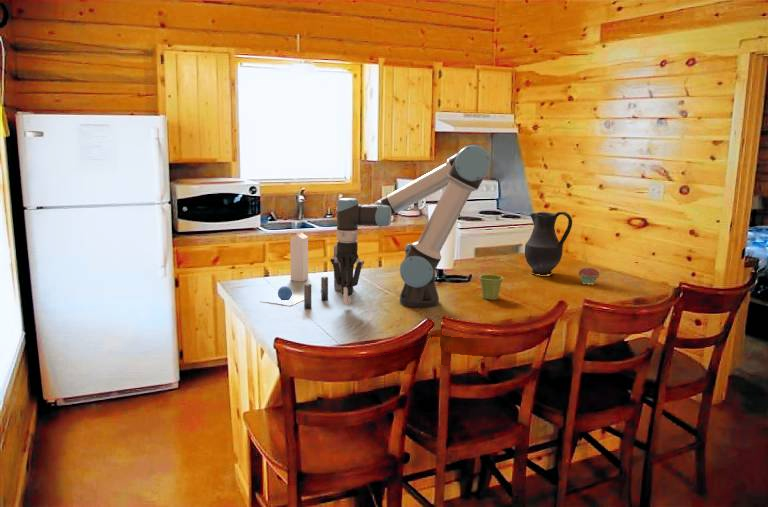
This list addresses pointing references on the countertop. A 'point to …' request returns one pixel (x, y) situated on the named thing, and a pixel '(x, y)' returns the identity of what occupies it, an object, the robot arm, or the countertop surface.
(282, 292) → the ball
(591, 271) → the cupcake
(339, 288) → the spray can
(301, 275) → the milk
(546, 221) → the pitcher
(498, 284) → the plant pot
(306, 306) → the left post
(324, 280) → the right post
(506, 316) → the countertop surface
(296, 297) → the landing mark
